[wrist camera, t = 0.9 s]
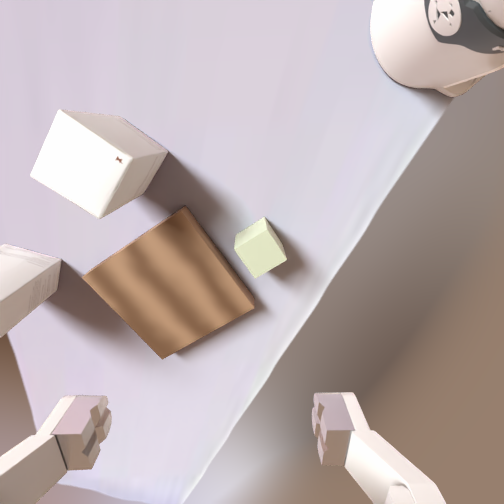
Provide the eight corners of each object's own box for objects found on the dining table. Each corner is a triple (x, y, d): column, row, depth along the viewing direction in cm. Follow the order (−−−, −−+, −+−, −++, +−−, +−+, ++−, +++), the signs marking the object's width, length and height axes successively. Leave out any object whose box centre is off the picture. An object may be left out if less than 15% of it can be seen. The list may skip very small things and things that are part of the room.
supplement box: (119, 114, 36) (58, 104, 25) (170, 151, 38) (135, 159, 26) (93, 163, 38) (26, 175, 27) (142, 196, 40) (99, 221, 29)
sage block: (264, 216, 42) (267, 229, 36) (282, 243, 43) (287, 259, 38) (235, 234, 43) (234, 249, 37) (254, 260, 44) (254, 278, 39)
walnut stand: (185, 205, 41) (180, 210, 38) (254, 297, 47) (254, 308, 44) (92, 268, 44) (81, 277, 41) (167, 347, 50) (162, 359, 47)
